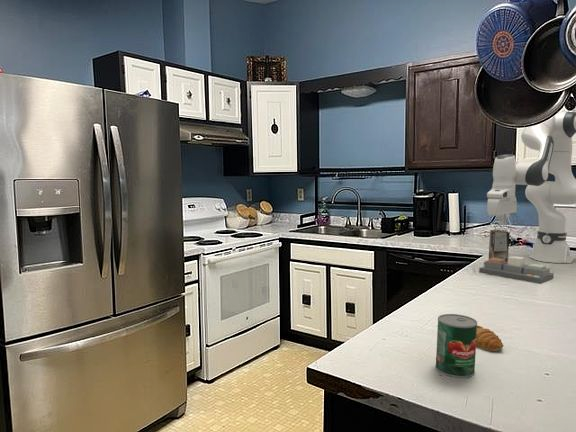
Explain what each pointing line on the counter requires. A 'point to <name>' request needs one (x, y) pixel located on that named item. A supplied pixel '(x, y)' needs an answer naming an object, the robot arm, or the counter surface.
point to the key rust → (497, 260)
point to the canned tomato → (456, 345)
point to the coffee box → (499, 244)
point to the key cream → (516, 261)
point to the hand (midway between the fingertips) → (502, 224)
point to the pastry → (488, 340)
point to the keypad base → (516, 272)
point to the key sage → (537, 266)
